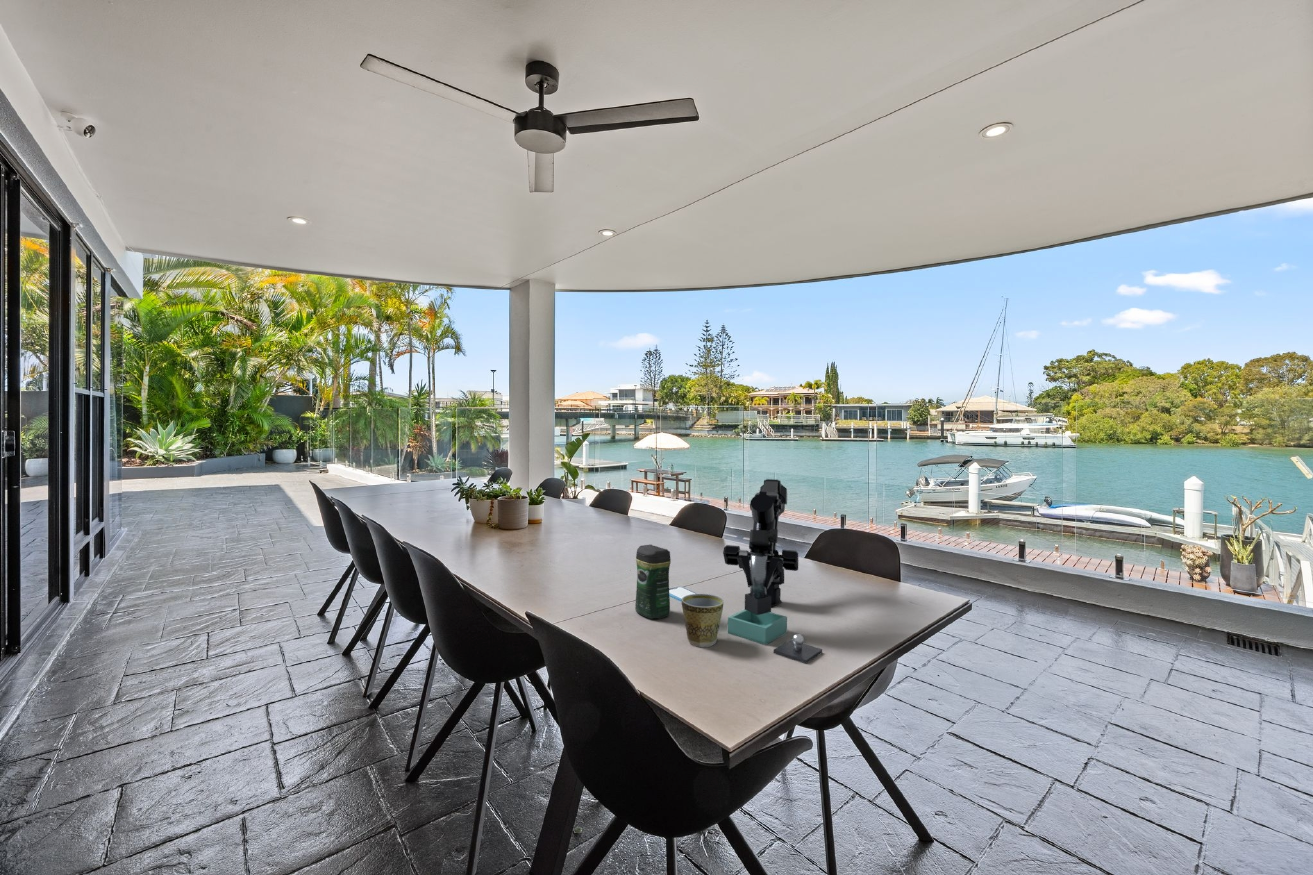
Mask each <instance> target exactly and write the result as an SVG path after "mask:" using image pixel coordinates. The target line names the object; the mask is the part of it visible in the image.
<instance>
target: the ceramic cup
mask: <svg viewBox="0 0 1313 875" xmlns="http://www.w3.org/2000/svg"><path fill="white" fill-rule="evenodd" d="M681 608H682V614H683V618H684V623H685V624H684V626H685V630H686V636H687V637H686V638H687V640H688V642H689V644H690V645H691V646H694V647H698V648H709V647H712V646H713V645H715V644H716V643H717V639H718V634H719V629H720V625H721V624H720V623H721V620H722V614H723V610H724V599H723V598H721V597H719V596H717V595H714V594H710V593H709V594H708V593H697V594H691V595H687V596H684V597H683V598H682V602H681Z"/></svg>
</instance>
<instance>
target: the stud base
mask: <svg viewBox="0 0 1313 875" xmlns="http://www.w3.org/2000/svg"><path fill="white" fill-rule="evenodd" d="M804 642H805V638H804V636H803V635H802V634H800V633H795V634H793V636H792V637H791V639H789V640H787V641H786V642H784V643H782V644H781V645H779V646H777V647H775V648H773V654H775V655H778V656H781V657H784V658H787V659H790V660H793V661H795V662H800V663H803V664H805V665H807V664H808V663H809V662H811V661H813V660H814V659H815V658H816V657H818V656H819V655H821V654H822V653H823V649H822V648H820V647H816V646H814V645H811V644H810V645H809V644H807V643H804Z"/></svg>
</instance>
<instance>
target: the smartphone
mask: <svg viewBox="0 0 1313 875" xmlns="http://www.w3.org/2000/svg"><path fill="white" fill-rule="evenodd" d="M691 594H698V593H697V592H694V591H692V590H691V589H688V588H686V587H683V586H677V587H672V588H670V587H669V597H670V598H673V599H675V600H676V601H679V602H681V603H682V598H683V597H684V596H687V595H691Z"/></svg>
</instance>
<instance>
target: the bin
mask: <svg viewBox="0 0 1313 875" xmlns="http://www.w3.org/2000/svg"><path fill="white" fill-rule="evenodd" d="M787 633H788V616H786V615H783V614H782V615H781V614H778V613H775V612H772V611H771V612H769V613H764V614H760V615H756V614H754V613H751V612H749V611H747V610H745V609H743V610H741V611H739V612H736V613H734V614H731V615H729V616H728V617H727V634H729V635H732V636H734V637H735V636H736V637H739V638H742V639H745V640H748V641H751V642H753V643H754V642H755V643H756V644H761V645H764V646H766V645H768V644H770V643H771V642H773V641H775V640H777V639H778V638H780V637H782V636H783V635H785V634H787Z"/></svg>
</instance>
